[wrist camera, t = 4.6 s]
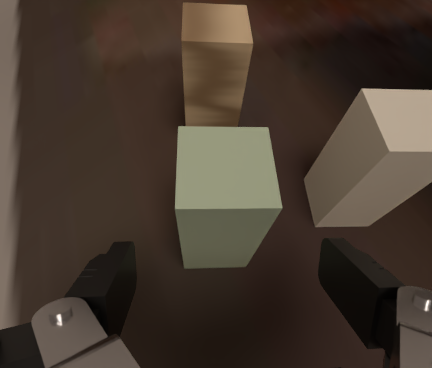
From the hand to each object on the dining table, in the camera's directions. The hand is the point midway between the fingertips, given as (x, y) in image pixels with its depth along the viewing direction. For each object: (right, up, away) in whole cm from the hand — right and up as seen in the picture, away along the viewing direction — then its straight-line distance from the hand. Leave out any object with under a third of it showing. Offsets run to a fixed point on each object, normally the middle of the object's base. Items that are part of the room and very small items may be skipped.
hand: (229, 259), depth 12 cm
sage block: (-1, -1, +10) cm, 10 cm away
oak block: (-1, +9, +15) cm, 18 cm away
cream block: (+10, +2, +12) cm, 15 cm away
